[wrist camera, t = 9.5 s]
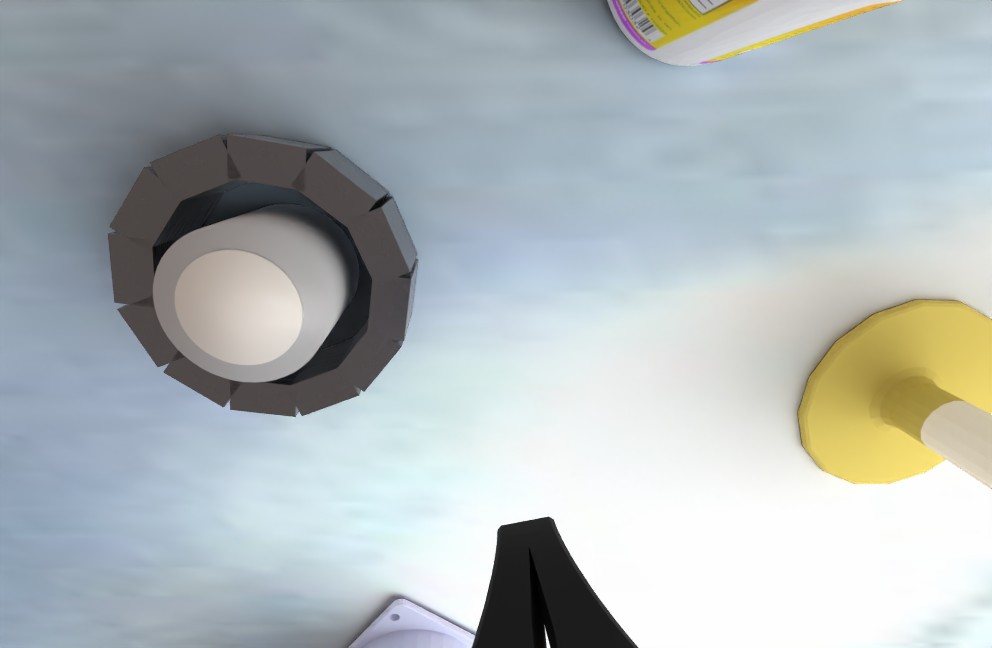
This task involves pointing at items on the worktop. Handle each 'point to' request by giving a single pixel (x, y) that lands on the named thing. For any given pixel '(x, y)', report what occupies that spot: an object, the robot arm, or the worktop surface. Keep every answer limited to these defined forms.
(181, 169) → the segmented grey ring
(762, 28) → the supplement bottle
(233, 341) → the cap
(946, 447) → the candle
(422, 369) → the worktop surface
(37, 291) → the worktop surface
